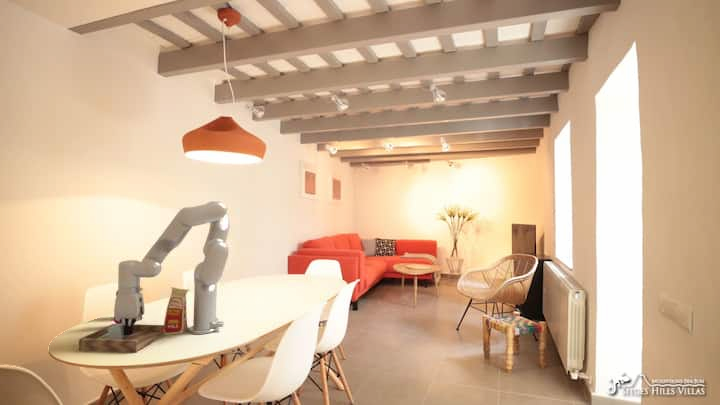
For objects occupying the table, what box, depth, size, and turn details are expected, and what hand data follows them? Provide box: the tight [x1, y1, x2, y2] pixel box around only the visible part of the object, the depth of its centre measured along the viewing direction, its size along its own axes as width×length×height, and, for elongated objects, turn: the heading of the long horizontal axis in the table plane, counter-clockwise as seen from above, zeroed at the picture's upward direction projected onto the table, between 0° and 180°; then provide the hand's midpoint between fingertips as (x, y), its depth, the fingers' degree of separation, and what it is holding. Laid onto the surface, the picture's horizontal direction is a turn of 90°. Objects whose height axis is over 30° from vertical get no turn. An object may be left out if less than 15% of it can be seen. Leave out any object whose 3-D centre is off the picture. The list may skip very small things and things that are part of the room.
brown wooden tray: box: [78, 323, 165, 354], centre depth 142 cm, size 23×18×4 cm
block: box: [108, 323, 127, 339], centre depth 142 cm, size 5×5×5 cm
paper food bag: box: [163, 286, 189, 336], centre depth 157 cm, size 9×9×20 cm
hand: (128, 334), depth 142 cm, fingers closed
